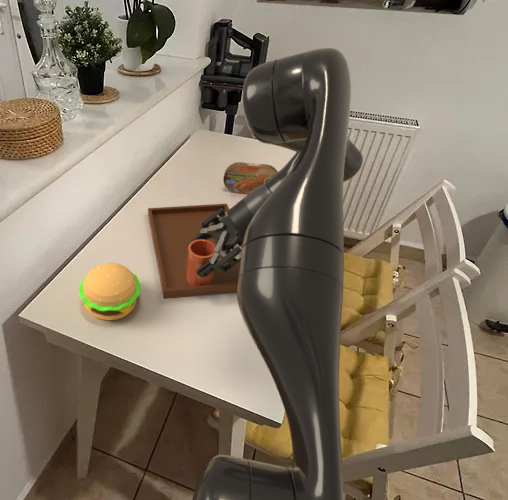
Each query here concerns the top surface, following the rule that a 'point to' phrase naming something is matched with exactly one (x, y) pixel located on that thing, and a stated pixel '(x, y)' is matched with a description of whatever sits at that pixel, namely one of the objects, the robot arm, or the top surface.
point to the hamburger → (109, 291)
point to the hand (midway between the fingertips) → (194, 260)
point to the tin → (247, 176)
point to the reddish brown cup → (199, 261)
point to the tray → (184, 250)
